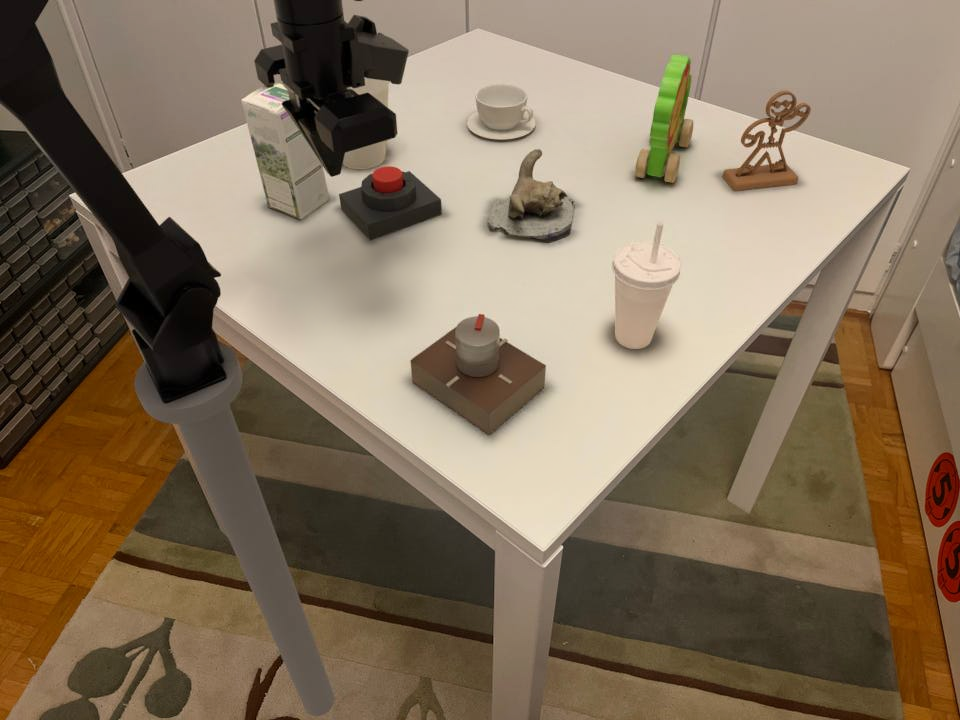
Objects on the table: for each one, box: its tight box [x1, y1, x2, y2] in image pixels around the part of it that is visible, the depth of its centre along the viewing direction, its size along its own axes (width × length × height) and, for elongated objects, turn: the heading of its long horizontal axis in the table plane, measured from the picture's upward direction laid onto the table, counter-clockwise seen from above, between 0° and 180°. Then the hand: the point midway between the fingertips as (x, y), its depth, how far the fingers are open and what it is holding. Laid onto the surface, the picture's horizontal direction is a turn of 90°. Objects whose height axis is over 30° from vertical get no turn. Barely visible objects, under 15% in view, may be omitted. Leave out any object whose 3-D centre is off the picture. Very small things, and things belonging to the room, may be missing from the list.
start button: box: [371, 165, 403, 193], centre depth 90 cm, size 4×4×2 cm
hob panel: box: [409, 326, 547, 435], centre depth 71 cm, size 10×8×3 cm
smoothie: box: [611, 221, 682, 350], centre depth 72 cm, size 6×6×14 cm
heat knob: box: [455, 313, 501, 377], centre depth 68 cm, size 4×4×4 cm
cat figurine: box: [487, 148, 575, 244], centre depth 91 cm, size 10×12×6 cm
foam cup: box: [342, 77, 391, 170], centre depth 98 cm, size 10×9×13 cm
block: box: [338, 170, 443, 241], centre depth 92 cm, size 10×8×4 cm
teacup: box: [466, 83, 536, 140], centre depth 107 cm, size 10×10×5 cm
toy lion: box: [634, 54, 694, 184], centre depth 96 cm, size 16×5×15 cm, turn 158°
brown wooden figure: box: [722, 90, 811, 192], centre depth 94 cm, size 9×4×12 cm, turn 101°
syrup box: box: [240, 81, 330, 220], centre depth 90 cm, size 6×6×14 cm
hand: (334, 174), depth 75 cm, fingers closed
